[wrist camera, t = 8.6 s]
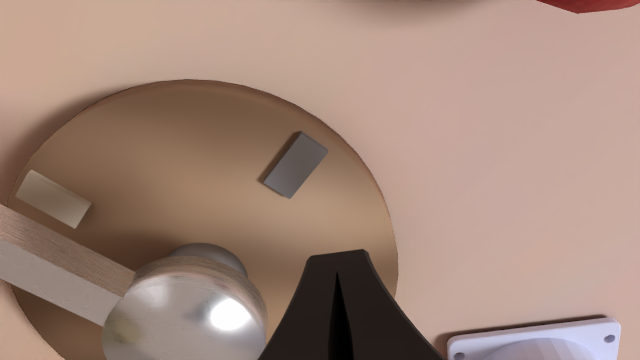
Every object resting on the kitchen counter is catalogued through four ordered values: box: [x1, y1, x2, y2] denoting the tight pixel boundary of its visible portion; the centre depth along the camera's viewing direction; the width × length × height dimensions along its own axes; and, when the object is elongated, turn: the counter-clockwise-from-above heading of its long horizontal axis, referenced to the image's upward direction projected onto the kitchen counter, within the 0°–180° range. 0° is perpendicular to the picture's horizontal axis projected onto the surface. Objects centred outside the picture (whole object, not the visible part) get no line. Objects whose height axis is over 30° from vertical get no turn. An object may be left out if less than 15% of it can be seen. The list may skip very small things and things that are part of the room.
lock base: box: [6, 79, 398, 360], centre depth 22 cm, size 16×16×4 cm
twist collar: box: [0, 204, 268, 360], centre depth 18 cm, size 14×6×2 cm, turn 55°
